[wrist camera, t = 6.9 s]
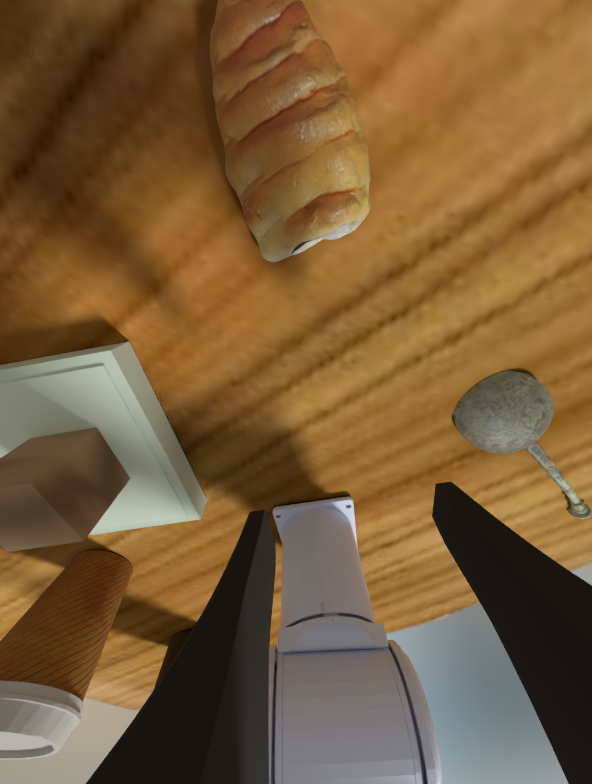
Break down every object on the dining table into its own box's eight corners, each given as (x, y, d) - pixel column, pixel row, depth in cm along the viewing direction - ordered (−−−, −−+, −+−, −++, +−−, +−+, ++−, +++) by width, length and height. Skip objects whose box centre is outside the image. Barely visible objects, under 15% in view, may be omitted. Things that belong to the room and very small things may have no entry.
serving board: (207, 500, 24) (199, 521, 22) (90, 517, 25) (73, 539, 23) (129, 341, 17) (108, 351, 15) (-33, 371, 17) (-74, 384, 15)
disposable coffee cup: (40, 544, 26) (-129, 735, 16) (127, 536, 26) (17, 722, 15) (84, 590, 31) (-25, 764, 20) (159, 583, 30) (90, 755, 20)
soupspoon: (504, 347, 19) (430, 400, 21) (541, 362, 16) (450, 422, 18) (605, 489, 26) (540, 518, 28) (645, 519, 23) (568, 549, 25)
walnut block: (130, 478, 19) (84, 541, 15) (71, 487, 20) (7, 552, 15) (96, 427, 17) (30, 483, 13) (30, 438, 17) (-58, 496, 13)
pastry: (180, 63, 11) (135, -25, 8) (316, -26, 10) (332, -170, 7) (269, 272, 15) (264, 273, 12) (373, 222, 14) (401, 208, 11)
